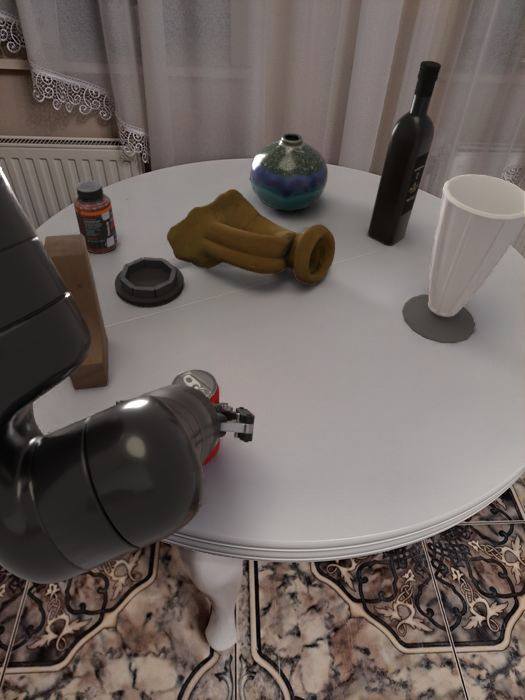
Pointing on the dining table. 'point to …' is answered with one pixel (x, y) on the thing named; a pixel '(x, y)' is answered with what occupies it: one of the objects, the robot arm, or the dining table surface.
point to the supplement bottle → (95, 217)
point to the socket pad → (149, 282)
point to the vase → (288, 173)
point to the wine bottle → (405, 162)
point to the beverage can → (207, 387)
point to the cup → (465, 252)
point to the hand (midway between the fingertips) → (199, 409)
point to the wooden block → (82, 304)
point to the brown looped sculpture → (250, 240)
